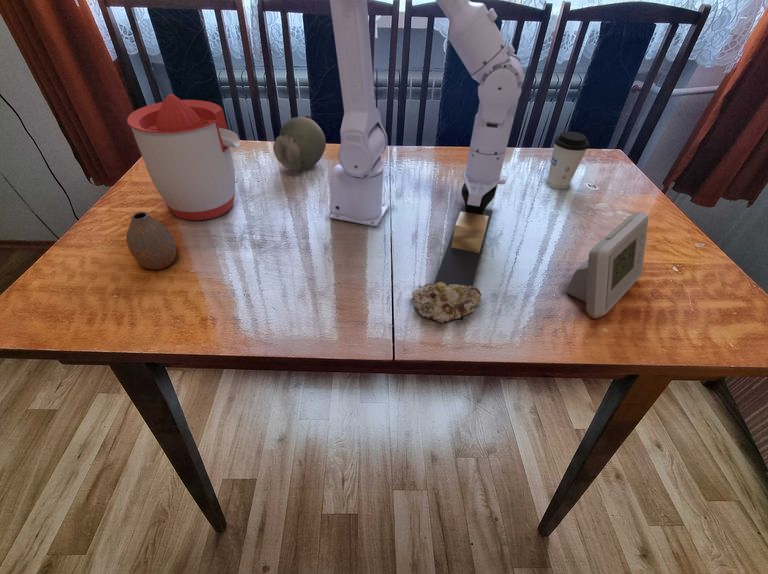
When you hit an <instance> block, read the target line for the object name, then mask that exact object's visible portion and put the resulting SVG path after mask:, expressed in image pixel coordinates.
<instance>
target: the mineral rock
mask: <svg viewBox="0 0 768 574" xmlns="http://www.w3.org/2000/svg"><path fill="white" fill-rule="evenodd" d="M411 296H412V304H413V306H414V307H415V308H416V309H417V311H418V314H419V315H421V316H422V317H425V318H426V319H431V320H434V321H436V322H437V323H445V322H449V321H451V320H459V319H458V318H460V317H462V316H464V317H465V316H467V315H468V314H472V313H474V312H475V311H476V308H477V307H478V306H480V304H481V301H482V293H481V292H480V289H479V288H478V287H476V286H473V285H472V286H471V285H470V286H464V285H458V284H451V285H449V286H446V284H445V283H443V282H438V283H436V284H435V285H433V284H432V283H427V284H425V285H422V286H420V287H419V288H418V289H415V290H413V291H412V292H411Z"/></svg>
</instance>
